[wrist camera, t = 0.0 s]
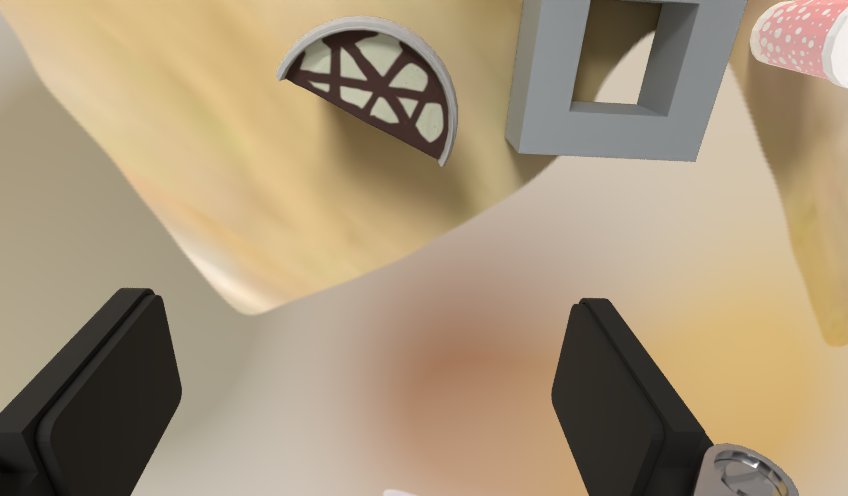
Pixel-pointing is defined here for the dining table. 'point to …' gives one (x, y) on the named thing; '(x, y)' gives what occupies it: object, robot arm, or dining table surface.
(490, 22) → the dining table surface
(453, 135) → the food container
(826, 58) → the beverage cup
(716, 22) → the socket block
